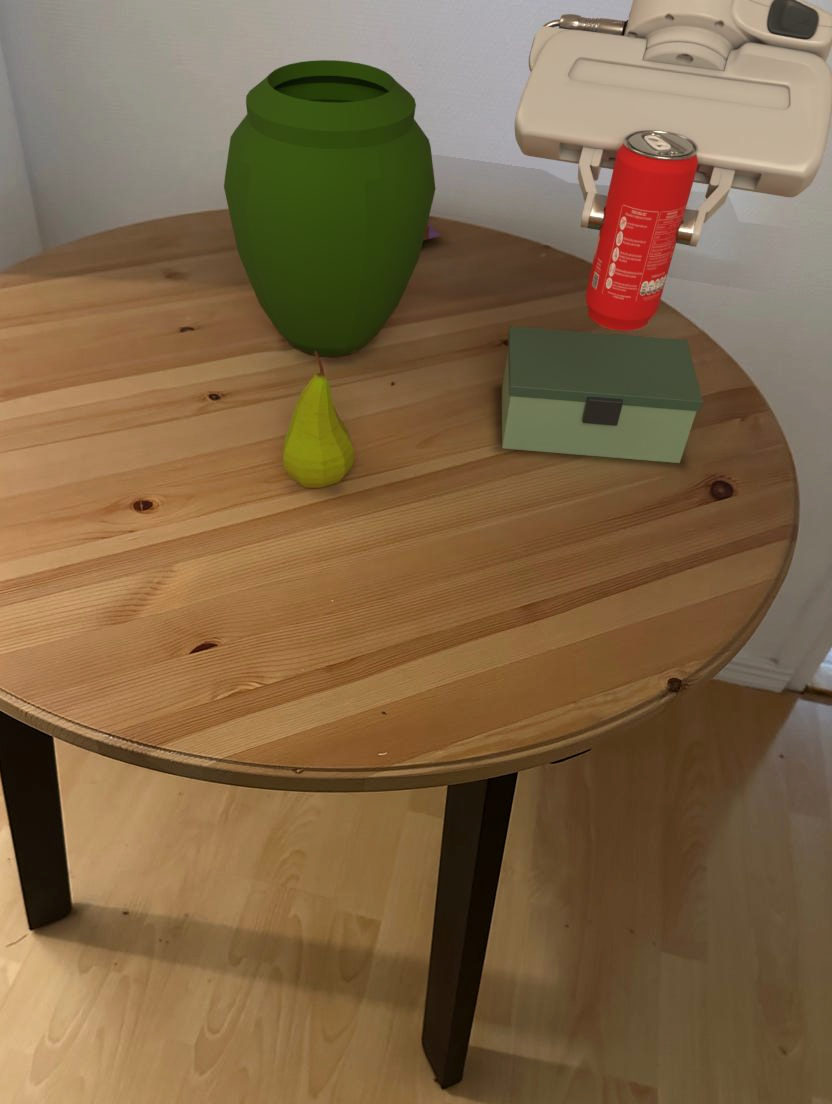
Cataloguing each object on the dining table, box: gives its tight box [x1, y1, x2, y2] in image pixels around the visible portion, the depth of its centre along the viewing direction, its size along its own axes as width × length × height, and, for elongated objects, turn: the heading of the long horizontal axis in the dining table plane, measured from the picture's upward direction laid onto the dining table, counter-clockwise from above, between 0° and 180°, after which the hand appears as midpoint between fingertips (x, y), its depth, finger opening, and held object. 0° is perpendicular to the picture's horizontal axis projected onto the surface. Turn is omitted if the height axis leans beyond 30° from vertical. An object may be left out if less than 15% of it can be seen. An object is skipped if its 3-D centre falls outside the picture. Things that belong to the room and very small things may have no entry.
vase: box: [223, 59, 436, 357], centre depth 93 cm, size 20×20×24 cm
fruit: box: [282, 351, 355, 489], centre depth 81 cm, size 6×6×12 cm
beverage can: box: [585, 130, 698, 333], centre depth 68 cm, size 5×5×12 cm
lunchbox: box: [501, 326, 704, 464], centre depth 90 cm, size 16×11×7 cm
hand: (638, 234), depth 67 cm, fingers closed on beverage can, 5 cm apart
